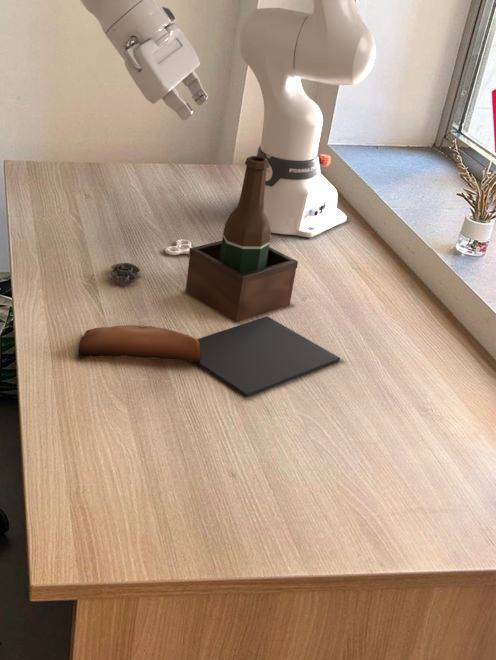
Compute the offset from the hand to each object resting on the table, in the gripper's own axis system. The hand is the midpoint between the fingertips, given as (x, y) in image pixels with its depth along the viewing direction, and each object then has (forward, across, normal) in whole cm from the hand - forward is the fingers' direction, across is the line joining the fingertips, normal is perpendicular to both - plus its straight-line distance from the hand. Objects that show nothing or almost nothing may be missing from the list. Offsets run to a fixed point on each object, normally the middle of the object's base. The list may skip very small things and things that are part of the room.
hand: (196, 109), depth 146 cm
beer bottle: (+29, 0, +14) cm, 32 cm away
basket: (+28, 0, +14) cm, 32 cm away
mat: (+33, -18, +9) cm, 39 cm away
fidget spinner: (+19, +15, +23) cm, 33 cm away
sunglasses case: (+21, -25, +20) cm, 39 cm away
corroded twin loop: (+14, -1, +28) cm, 31 cm away
